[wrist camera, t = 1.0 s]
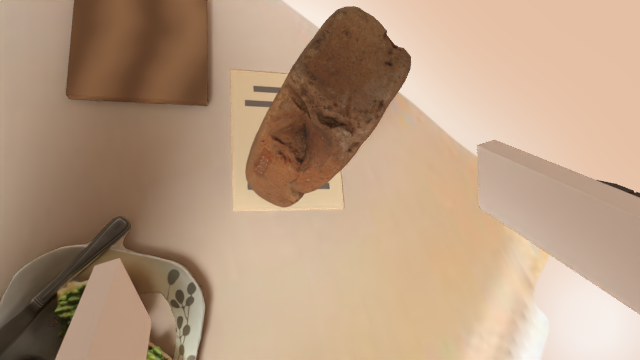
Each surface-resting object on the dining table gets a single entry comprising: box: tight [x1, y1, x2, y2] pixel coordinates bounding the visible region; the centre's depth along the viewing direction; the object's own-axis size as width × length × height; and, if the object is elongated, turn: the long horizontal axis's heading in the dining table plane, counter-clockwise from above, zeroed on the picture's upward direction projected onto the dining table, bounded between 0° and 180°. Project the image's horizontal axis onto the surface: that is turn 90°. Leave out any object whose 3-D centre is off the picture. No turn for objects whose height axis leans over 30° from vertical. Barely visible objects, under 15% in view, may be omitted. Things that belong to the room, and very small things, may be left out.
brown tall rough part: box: [245, 6, 411, 208], centre depth 34 cm, size 11×8×20 cm
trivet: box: [66, 0, 207, 106], centre depth 41 cm, size 13×13×1 cm
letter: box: [230, 69, 344, 211], centre depth 44 cm, size 12×16×1 cm
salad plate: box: [0, 216, 206, 360], centre depth 33 cm, size 19×18×5 cm
